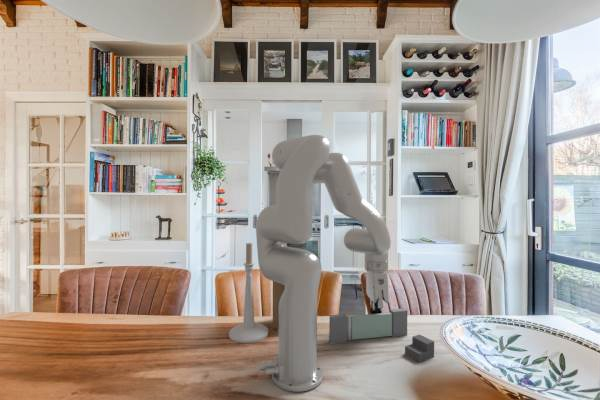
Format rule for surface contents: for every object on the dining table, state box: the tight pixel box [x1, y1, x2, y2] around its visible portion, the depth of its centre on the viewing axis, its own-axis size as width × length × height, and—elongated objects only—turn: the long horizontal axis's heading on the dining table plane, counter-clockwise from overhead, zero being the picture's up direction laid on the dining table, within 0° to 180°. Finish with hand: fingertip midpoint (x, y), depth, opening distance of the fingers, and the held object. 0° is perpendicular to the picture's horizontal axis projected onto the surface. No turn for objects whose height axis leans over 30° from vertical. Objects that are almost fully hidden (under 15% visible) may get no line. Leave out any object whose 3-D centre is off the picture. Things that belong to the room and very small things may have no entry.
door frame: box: [328, 307, 408, 345], centre depth 96 cm, size 26×2×8 cm, turn 104°
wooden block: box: [272, 281, 285, 330], centre depth 106 cm, size 10×10×20 cm
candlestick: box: [228, 242, 269, 344], centre depth 98 cm, size 13×13×30 cm
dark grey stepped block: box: [404, 334, 435, 363], centre depth 85 cm, size 6×5×4 cm
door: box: [346, 312, 393, 341], centre depth 95 cm, size 15×1×7 cm, turn 102°
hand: (375, 320), depth 99 cm, fingers closed
